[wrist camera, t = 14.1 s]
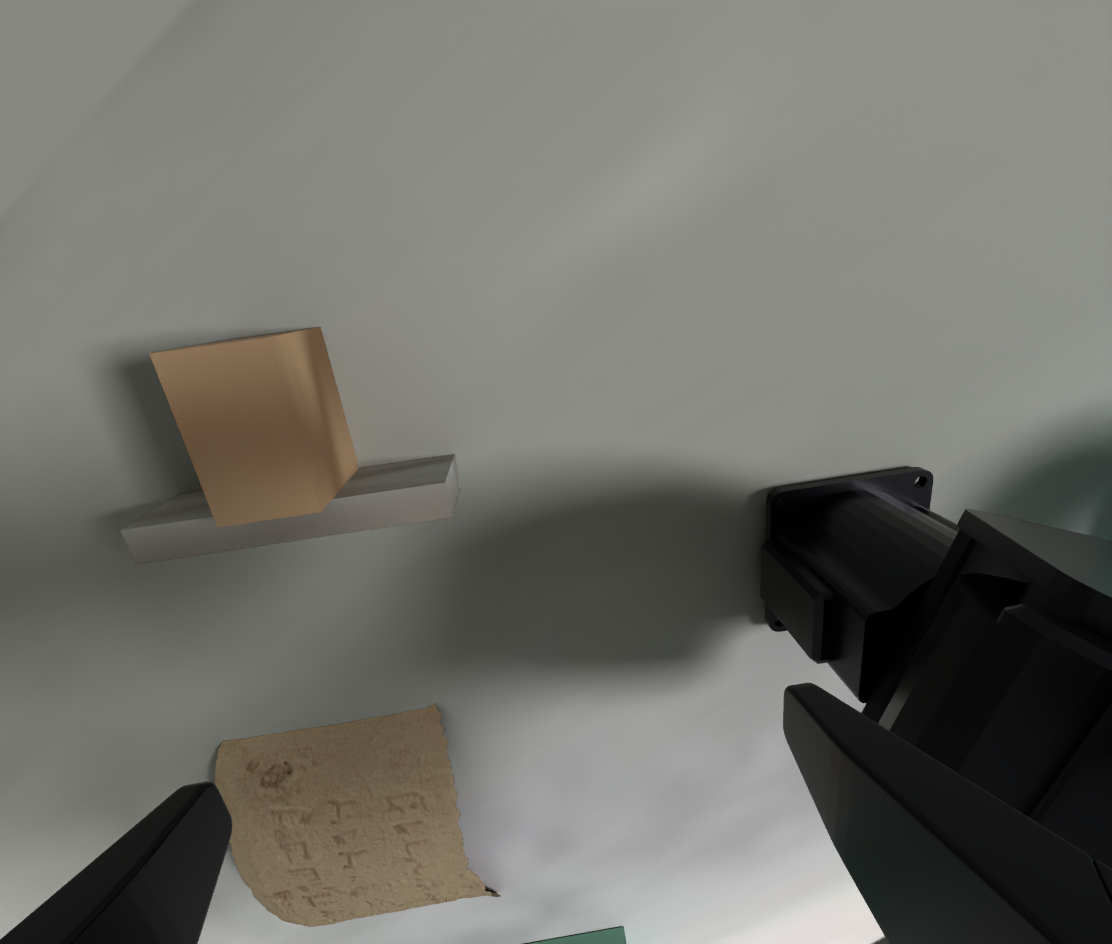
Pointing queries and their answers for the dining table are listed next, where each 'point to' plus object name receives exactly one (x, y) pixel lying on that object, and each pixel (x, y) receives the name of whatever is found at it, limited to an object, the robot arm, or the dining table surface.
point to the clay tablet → (347, 818)
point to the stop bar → (592, 938)
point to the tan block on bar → (275, 454)
